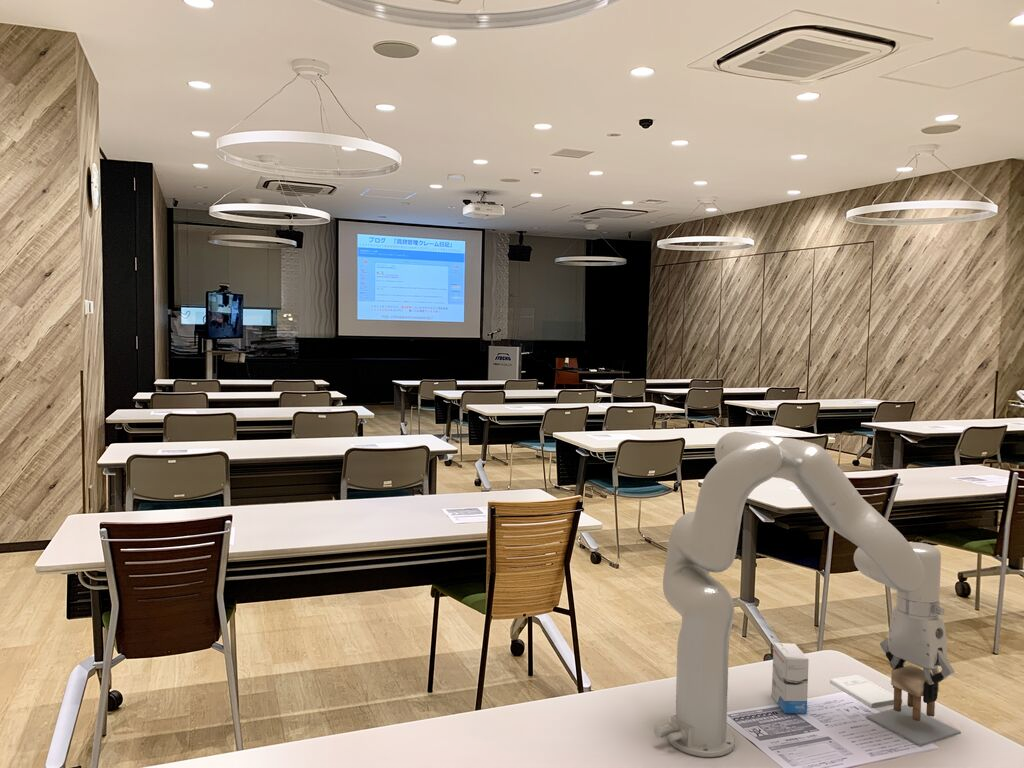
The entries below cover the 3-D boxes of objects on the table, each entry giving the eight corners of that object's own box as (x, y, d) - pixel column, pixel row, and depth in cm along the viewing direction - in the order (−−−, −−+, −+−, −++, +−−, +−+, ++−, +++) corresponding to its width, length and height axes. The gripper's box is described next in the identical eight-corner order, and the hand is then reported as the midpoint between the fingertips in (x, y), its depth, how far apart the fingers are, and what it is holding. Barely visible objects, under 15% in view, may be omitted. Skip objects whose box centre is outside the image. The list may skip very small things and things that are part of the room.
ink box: (808, 714, 155) (810, 658, 155) (783, 714, 155) (785, 658, 155) (793, 695, 164) (795, 642, 163) (770, 695, 164) (772, 641, 163)
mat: (920, 746, 143) (920, 744, 143) (866, 718, 154) (866, 716, 154) (960, 733, 148) (960, 731, 148) (905, 706, 159) (905, 704, 159)
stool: (937, 716, 150) (939, 676, 149) (917, 722, 147) (918, 682, 147) (910, 703, 155) (911, 665, 155) (890, 708, 152) (891, 670, 152)
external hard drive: (871, 710, 158) (829, 685, 170) (902, 705, 161) (859, 680, 173) (871, 703, 158) (830, 678, 170) (902, 698, 161) (859, 673, 173)
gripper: (971, 617, 144) (968, 709, 145) (891, 590, 159) (889, 674, 160) (946, 623, 141) (942, 717, 142) (867, 595, 156) (864, 680, 157)
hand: (914, 693), depth 151 cm, fingers closed on stool, 6 cm apart
